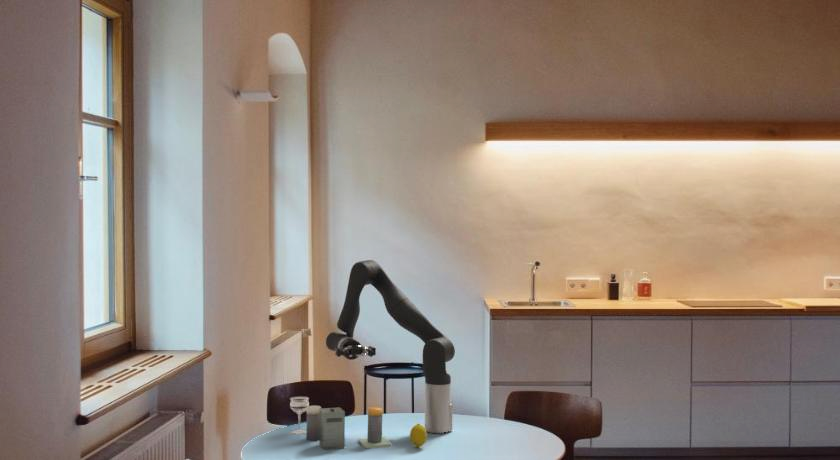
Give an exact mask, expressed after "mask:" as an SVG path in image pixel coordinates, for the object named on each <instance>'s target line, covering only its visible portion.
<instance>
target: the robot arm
mask: <svg viewBox="0 0 840 460" xmlns="http://www.w3.org/2000/svg"><path fill="white" fill-rule="evenodd" d="M368 285H370V286H373V287H374V288H375V289H376V290H377V292H378V293H379V294H380V295H381V297H382V300H383V302H384V303H383V304H384V307H385V309H386V311H387V313H388V315H389V316H390V317H391V318H392V319H393V320H394V322H396V323H397V325H399V326H400V327H401V328H403V329H404V330H406V331H408V332H409V333H410V334H413V335H414V336H416V337H417V338H419V339H420V340H421V341H422V342H423V343H424V345H423V349H422V372H423V376H424V381H425V382H424V428H425V429H426V433H430V434H431V433H432V434H445V433H444V432H446V433H449V432H452V431H453V404H452V403H451V395H452V394H451V393H452V391H451V387H452V385H451V383H452V382H451V379H452V377H451V375H450V374H449V373H447V369H446V368H447V367H446V363H447V362H449V361H452V360H453V358H454V357H455V353H456V349H455V346H454V344H453V342H452V341H451V340H450V338H448V337H447V336H446V335H445V334H443V333H442V331H440V330H439V329H438V328H437V327H435V326H434V325H433V323H431V321H430V320H429V319H428V318H427V316H425V315H424V314H423V313H422V312H421V311H420V310H419V308H417V306H416V305H415V304H414V303H413V302H412V301H411V299H410V298H408V297H407V295H405V294H404V292H403V291H402V290H401V289H400V288H399V287H398V286H397V285H396V284H395V283H394V282H393V280H392V279H391V278H390V276H389V275H388V274H387V272H386V271H385V270H384V269H383V268H382V266H381V265H380V264H379V263H378V262H377V261H375V260H374V259H373V260H371V259H369V260H368V259H367V260H362V261H360V260H359V261H357V262H356V263H354V264H352V267H351V270H350V272H349V277H348V283H347V288H346V292H345V299H344V302H343V306H342V310H341V312H340V315H339V317H338V319H337V323H336V326H337V329H338V330H340V331H341V333H340V332H336V331H332V332H330V333H329V334H328V335H327V336H326V339H325V346H326V348H327V349H328V350H329V351H333V352H334V355H335V356H336V357H338V358H340V357H341V356H342V357H343V358H346V359H347V360H348V361H349V360H350V361H352V360H356V359H358V358H359V357H367V356H368V357H373V356H376V355H377V354H376V353H377V351H376V349H377V348H376V347H373V346H371V345H369V346H368V347H367V346H365V345H364V346H362V344H361V343H360V341H358V340H357V339H355V338H354V332H355V328H356V325H357V322H358V320H359V316H360V312H361V306H360V297H361V295H362V291H363V290H364V287H365V286H368ZM342 332H343V333H342ZM451 430H452V431H451ZM448 431H449V432H448Z"/></svg>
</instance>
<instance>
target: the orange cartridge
mask: <svg viewBox="0 0 840 460" xmlns="http://www.w3.org/2000/svg"><path fill="white" fill-rule="evenodd" d="M383 410H384V408H383V407H381V406H371V407H370V406H369V407H367V438H368V439H367V438H366V439H367V441H368V442H370V443H380V442H382V437H383V414H384V413H383Z"/></svg>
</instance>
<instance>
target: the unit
mask: <svg viewBox="0 0 840 460" xmlns="http://www.w3.org/2000/svg"><path fill="white" fill-rule="evenodd" d="M345 414H346V412H345V410H343V409H342V408H341V407H327V408H326V407H324V408H322V407H321V409H320V420H319V440H318V445H319V446H320V447H321V449H322V450H323V451H327V450H339V449H341V450H342V449H345V446H346V445H345V444H346V443H345V440H346V439H345V437H346V436H345V433H346V431H345V427H346V425H345V424H346V423H345V422H346V421H345V420H346V415H345Z"/></svg>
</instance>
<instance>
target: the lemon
mask: <svg viewBox="0 0 840 460" xmlns="http://www.w3.org/2000/svg"><path fill="white" fill-rule="evenodd" d="M427 433H428V432H427V431H426V429H425V426H424V425H422V424H421V423H417V424H415V425H414V426H412V427H411V430H410V433H409V434H410V435H409V438H410V439H409V440H410V442H411V444H412V445H413V446H415V447H416V448H417V449H420V448H421V447H422V446H424V445H425V444H426V442H427V439H428V435H427Z"/></svg>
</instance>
